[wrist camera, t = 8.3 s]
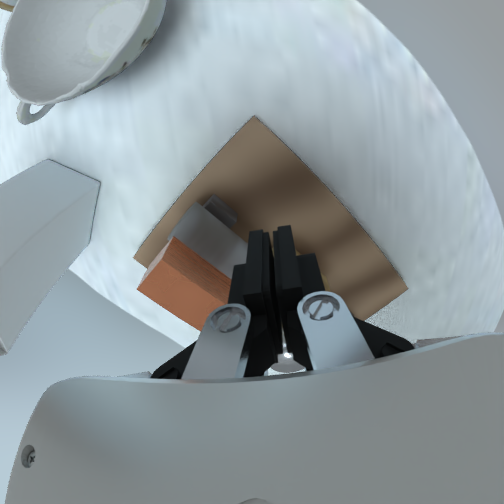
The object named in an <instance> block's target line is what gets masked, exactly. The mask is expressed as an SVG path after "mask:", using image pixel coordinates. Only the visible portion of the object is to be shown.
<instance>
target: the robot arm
mask: <svg viewBox="0 0 504 504" xmlns="http://www.w3.org/2000/svg"><path fill="white" fill-rule="evenodd" d="M277 229H278V230H277V231H273V247H274V256H273V251H272V246H271V241H270V236H269V232H264V231H263V229H261V230H255V231H249V239H248V248H247V257H246V263H245V264H238V265H234V268H233V273H232V279H231V285H230V291H229V297H228V303H227V304H226V305H223V306H220V307H218V308H216V309H215V310H213V311H212V312H211V313H210V314H209V316H208V317H207V319H206V321H205V323H204V326H203V328H202V330H201V333H200V335H199V338H198V340H197V341H195V342H194V343H193V344H191V345H190V346H188V347H187V348H186V349H184V350H183V351H181V352H180V353H178V354H177V355H176V356H174V357H173V358H171V359H170V360H168V361H167V362H166V363H164V364H163V365H161V366H160V367H159V368H158V369H156V370H155V371H154V373H153V374H151V373H150V372H149V371H148V372H142V373H137V374H131V375H124V376H117V377H109V376H82V377H74V378H69V379H66V380H62V381H59V382H57V383H55V384H53V385H51V386H50V387H49V388H47V390H46V391H45V392H44V393H43V395H42V397H41V398H40V400H39V402H38V403H37V405H36V407H35V409H34V411H33V413H32V415H31V417H30V420H29V422H28V424H27V427H26V429H25V432H24V434H23V437H22V440H21V442H20V445H19V448H18V452H17V455H16V458H15V462H14V465H13V468H12V472H11V476H10V480H9V485H8V489H7V494H6V500H5V504H504V333H491V332H487V333H478V334H471V335H467V336H458V337H448V338H437V339H424V340H417V343H415V344H411V343H410V342H409V341H408V340H406V339H404V338H402V337H400V336H397V335H395V334H393V333H390V332H388V331H386V330H383V329H381V328H379V327H376V326H374V325H372V324H369V323H367V322H365V321H362V320H360V319H358V318H355V317H353V316H352V315H351V313H350V311H349V309H348V308H347V306H346V304H345V302H344V301H343V299H342V298H341V297H340V296H338V295H337V294H335V293H332V292H328V291H325V287H324V283H323V280H322V276H321V272H320V269H319V265H318V262H317V258H316V255H315V253H310V254H303V255H297V256H296V251H295V245H294V240H293V235H292V230H291V225H286V226H279V227H277ZM282 326H283V331H284V337H285V342H286V347H287V352H288V353H292V354H293V360H294V361H295V362H297V363H299V364H300V365H302V366H303V367H305V372H297V373H289V374H280V375H270V376H268V370H267V369H269V368H270V367H271V366H272V365H273V364H274V363H278V355H279V354H283V337H282Z"/></svg>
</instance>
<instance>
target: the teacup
mask: <svg viewBox="0 0 504 504" xmlns="http://www.w3.org/2000/svg"><path fill="white" fill-rule="evenodd" d="M166 2H167V0H18V1H17V3H16V5H15V7H14V8H13V12H12V14H11V16H10V18H9V20H8V22H7V24H6V29H5V33H4V37H3V42H2V46H1V47H2V69H3V71H4V72H5V73H6V76H7V80H6V81H7V84H8V88H9V89H10V91H11V93H12V94H13V95H15V96H16V98H17V99H19V100H21V102H20V103H19V105H18V108H17V112H16V114H17V119H18V121H19V122H20V123H21V124H23V125H27V124H29V123H32V122H35V121H37V120H39V119H40V118H42V117H43V116H44V115H45V114H47V113H48V111H49V110H50V109H51V108H52V107H53V106H54V105H55V104H56V103H59V102H62V101H66V100H69V99H72V98H75V97H77V96H80V95H82V94H84V93H87V92H89V91H91V90H93V89H95V88H97V87H99V86H101V85H103V84H104V83H106V82H108V81H109V80H111V79H112V78H114V77H115V76H117V75H118V74H120V73H121V72H122V71H123V70H125V69H126V68H127V67H128V66H129V65H130V64H131V63H132V62H133V61H135V60H136V58H137V57H138V56H139V55H140V54H141V53H142V52H143V51H144V49H145V48H146V47H147V46H148V44H149V43H150V42H151V40H152V39H153V37H154V35H155V33H156V31H157V30H158V28H159V25H160V23H161V20H162V18H163V15H164V12H165V7H166ZM31 104H35V105H37V106H40V105H45V106H44V107H43V108H42V109H41V110H40V111H39V112H37V113H35V114H30V111H29V110H30V106H31Z"/></svg>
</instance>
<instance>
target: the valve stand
mask: <svg viewBox="0 0 504 504" xmlns="http://www.w3.org/2000/svg"><path fill="white" fill-rule="evenodd" d="M286 225H291V230H292V235H293V240H294V245H295V251H296V256H297V255H303V254H310V253H315V255H316V258H317V262H318V265H319V269H320V272H321V276H322V280H323V283H324V287H325V291H328V292H332V293H335V294H337V295H338V296H340V297H341V298H342V299H343V301H344V302H345V304H346V306H347V308H348V309H349V311H350V313H351V315H352V316H353V317H355V318H358V319H360V320H362V321H364V320H366V319H367V318H369V317H370V316H372V315H373V314H375V313H376V312H377V311H379V310H380V309H382V308H383V307H385V306H386V305H387V304H389V303H390V302H391V301H393V300H394V299H395V298H397V297H398V296H399V295H401V294H402V293H403V292H405V291H406V290H407V289H408V287H407V286H406V284H405V282H404V281H403V279H402V278H401V277H400V275H399V274H398V272H397V271H396V270H395V268H394V267H393V266H392V264H391V263H390V262H389V260H388V259H387V258H386V257H385V255H384V254H383V253H382V251H381V250H380V249H379V248H378V246H377V245H376V244H375V242H374V241H373V240H372V239H371V237H370V236H369V235H368V234H367V233H366V231H365V230H364V229H363V228H362V227H361V225H360V224H359V223H358V222H357V221H356V219H355V218H354V217H353V216H352V215H351V213H350V212H349V211H348V210H347V209H346V208H345V207H344V205H343V204H342V203H341V202H340V201H339V200H338V199H337V198H336V196H335V195H334V194H333V193H332V192H331V191H330V190H329V189H328V188H327V187H326V185H325V184H324V183H323V182H322V181H321V180H320V179H319V178H318V177H317V176H316V175H315V174H314V173H313V172H312V171H311V170H310V169H309V168H308V166H307V165H306V164H305V163H304V162H303V161H302V160H301V159H300V158H299V157H298V156H297V155H296V154H295V153H294V152H293V151H292V150H291V149H290V148H289V147H288V146H287V145H285V144H284V143H283V142H282V141H281V140H280V139H279V138H278V137H277V136H276V135H275V134H274V133H273V132H272V131H271V130H270V129H269V128H267V127H266V126H265V125H264V124H263V123H262V122H261V121H260V120H259V119H258V118H256V117H255V116H253V117H252V118H251V119H250V120H249V121H248V122H247V123H246V124H245V125H244V126H243V127H242V128H241V129H240V130H239V131H238V132H237V133H236V134H235V135H234V136H233V137H232V138H231V139H230V140H229V141H228V142H227V143H226V144H225V146H224V147H223V148H222V149H221V150H220V151H219V152H218V153H217V154H216V155H215V156H214V157H213V159H212V160H211V161H210V162H209V163H208V164H207V165H206V166H205V168H204V169H203V170H202V171H201V172H200V173H199V174H198V176H197V177H196V178H195V179H194V180H193V181H192V182H191V184H190V185H189V186H188V187H187V188H186V190H185V191H184V192H183V193H182V194H181V196H180V197H179V198H178V199H177V200H176V202H175V203H174V204H173V205H172V207H171V208H170V209H169V210H168V212H167V213H166V214H165V215H164V217H163V218H162V219H161V220H160V222H159V223H158V224H157V226H156V227H155V228H154V229H153V231H152V232H151V233H150V235H149V236H148V237H147V239H146V240H145V241H144V243H143V244H142V245H141V247H140V248H139V249H138V251H137V253H136V254H135V256H134V257H133V258H134V259H135V260H136V261H138V262H139V263H140V264H142V265H143V266H144V267H146V268H147V269H148V267H149V265H150V264H151V263H152V261H153V260H154V259H155V258H156V256H157V255H158V254H159V253H160V252H161V250H162V249H163V248H164V247H165V246H166V244H167V243H168V242H169V241H170V240H171V238H172V237H173V236H175V237H176V238H177V239H179V240H180V241H181V242H182V243H184V244H185V245H186V246H188V247H189V248H190V249H192V250H193V251H194V252H196V253H197V254H198V255H200V256H201V257H202V258H204V259H205V260H206V261H208V262H209V263H210V264H212V265H213V266H214V267H216V268H217V269H218V270H220V271H221V272H222V273H224V274H225V275H226V276H228V277H229V278H230V279H232V273H233V268H234V265H238V264H245V263H246V257H247V248H248V239H249V231H255V230H261V229H263V231H264V232H269V236H270V241H271V246H272V251H273V256H274V247H273V231H277V230H278V229H277V227H279V226H286ZM282 328H283V326H282Z"/></svg>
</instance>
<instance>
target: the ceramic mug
mask: <svg viewBox="0 0 504 504" xmlns="http://www.w3.org/2000/svg"><path fill="white" fill-rule="evenodd" d="M17 1H18V0H0V8H1V9H4V10H7V11H10V12H13V8H14V7H15V5H16V3H17Z"/></svg>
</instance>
